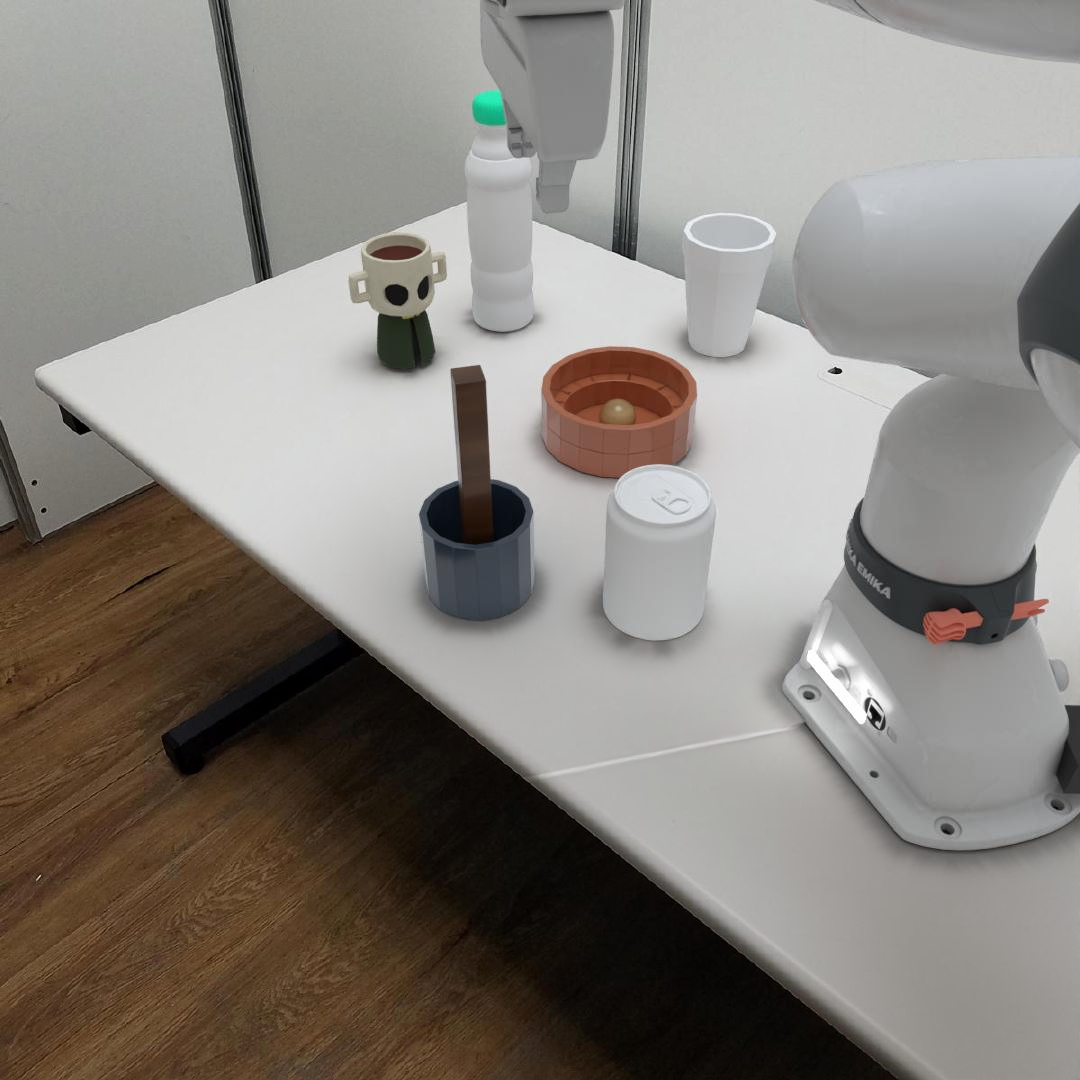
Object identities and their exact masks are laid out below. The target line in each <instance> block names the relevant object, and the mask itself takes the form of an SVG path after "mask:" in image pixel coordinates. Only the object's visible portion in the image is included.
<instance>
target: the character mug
mask: <svg viewBox="0 0 1080 1080" xmlns="http://www.w3.org/2000/svg"><path fill="white" fill-rule="evenodd" d="M360 257H361V264H362V265H361V266H362V270H360V271H357V272H353V273H351V274H349V276H348V285H349V286H348V288H349V294H350V295H349V296H350V301H351V302H352V304H362V303H365V302H368V304H369V305H370V308H372V310H374V311H375V312H377V313H378V315H377V324H376V325H377V326H376V327H377V328H376V353H377V356H378V359H379V360H380V361H381V362H382V363H384V365H386V366H387V367H391V368H395V369H400V370H401V369H413V368H415V367H416V366H415V365H416V364H415V360H416V359H418V358H420V360H421V365H426V364H428V363H429V362H431V361H432V360H433V359H434V357H435V355H436V346H435V341H434V336H433V332H432V331H433V330H432V328H431V322H430V319H429V315H428V311H427V308H429V307H430V306H431V304H432V303H433V300H434V296H435V293H436V292H435V290H436V289H435V284H438V283H441V282H444V281H446V280H447V277H448V271H447V269H448V267H447V256H446V254H445V251H436V252H432V247H431V244H430V242H429V240H428V239H427V237H424V236H422V235H420V234H416V233H412V232H401V231H400V232H397V231H396V232H388V233H381V234H378V235H375V236H373V237H370V238H369V239H367V240H366V241H365V242H363V244H362V246H361V248H360ZM436 262H437V273H434V266H433V264H434V263H436ZM362 281H364V288H365V291H363V292H360V287H359V282H362Z"/></svg>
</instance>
